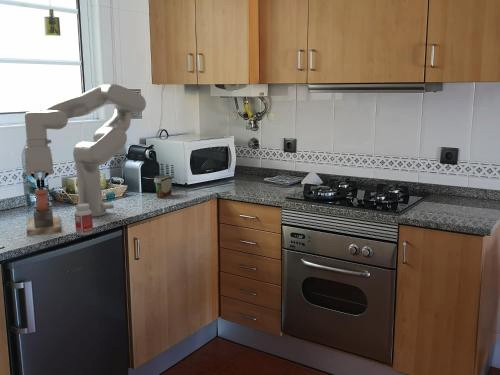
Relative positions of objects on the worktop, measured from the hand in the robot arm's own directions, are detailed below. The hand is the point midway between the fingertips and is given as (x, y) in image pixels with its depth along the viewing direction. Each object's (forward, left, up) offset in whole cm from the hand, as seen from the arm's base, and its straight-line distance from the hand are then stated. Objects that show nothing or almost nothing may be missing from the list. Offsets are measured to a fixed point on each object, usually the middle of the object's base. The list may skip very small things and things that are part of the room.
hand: (40, 189), depth 213 cm
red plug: (0, +11, -8) cm, 13 cm away
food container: (-55, -36, -15) cm, 67 cm away
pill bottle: (-14, +22, -15) cm, 30 cm away
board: (0, +5, -14) cm, 15 cm away
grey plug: (0, 0, -9) cm, 9 cm away
